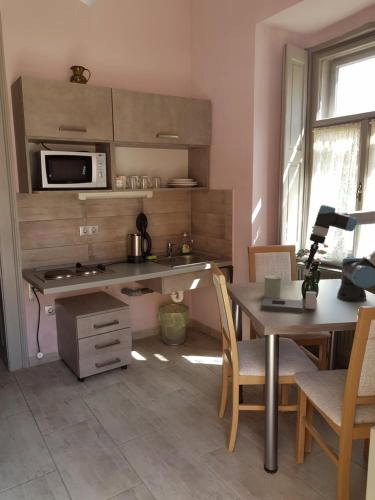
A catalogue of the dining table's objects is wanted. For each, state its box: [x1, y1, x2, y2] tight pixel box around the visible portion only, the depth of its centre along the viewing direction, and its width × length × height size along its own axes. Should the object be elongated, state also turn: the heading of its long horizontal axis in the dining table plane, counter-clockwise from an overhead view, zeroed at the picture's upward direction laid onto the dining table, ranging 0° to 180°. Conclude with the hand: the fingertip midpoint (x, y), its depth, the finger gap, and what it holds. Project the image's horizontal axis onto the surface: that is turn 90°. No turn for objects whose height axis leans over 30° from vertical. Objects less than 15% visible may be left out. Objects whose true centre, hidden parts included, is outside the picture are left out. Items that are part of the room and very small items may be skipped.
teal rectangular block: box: [305, 290, 317, 310], centre depth 206 cm, size 5×4×8 cm
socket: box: [260, 297, 304, 314], centre depth 207 cm, size 20×14×2 cm
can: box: [263, 274, 282, 299], centre depth 227 cm, size 9×9×12 cm
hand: (305, 273), depth 210 cm, fingers open, 13 cm apart
